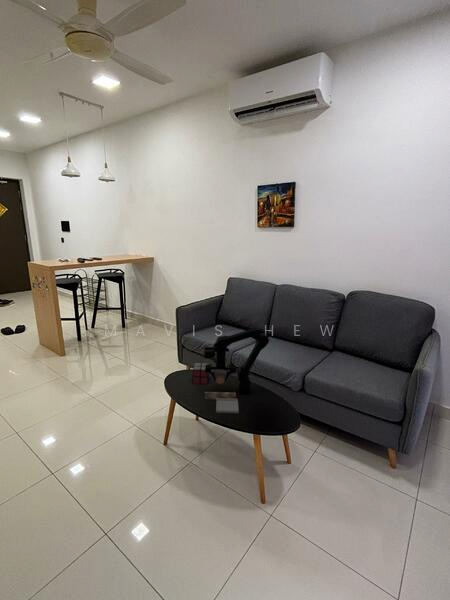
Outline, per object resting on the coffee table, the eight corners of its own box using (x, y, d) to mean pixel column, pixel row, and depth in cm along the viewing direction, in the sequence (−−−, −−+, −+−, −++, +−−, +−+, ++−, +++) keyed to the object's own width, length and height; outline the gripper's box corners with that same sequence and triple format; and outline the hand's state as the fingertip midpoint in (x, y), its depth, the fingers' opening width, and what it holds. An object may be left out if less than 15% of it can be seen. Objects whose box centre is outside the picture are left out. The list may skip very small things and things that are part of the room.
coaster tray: (237, 401, 174) (237, 398, 174) (238, 413, 162) (238, 410, 162) (216, 400, 174) (216, 398, 173) (216, 412, 162) (216, 410, 162)
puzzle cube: (207, 384, 193) (208, 370, 190) (192, 383, 193) (192, 369, 191) (209, 377, 202) (209, 363, 200) (194, 376, 202) (194, 362, 200)
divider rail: (235, 398, 176) (235, 392, 176) (235, 399, 175) (235, 393, 174) (205, 398, 176) (205, 391, 175) (204, 399, 175) (204, 393, 174)
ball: (225, 381, 185) (225, 372, 184) (225, 386, 179) (225, 376, 178) (215, 381, 185) (215, 372, 184) (215, 385, 179) (215, 376, 178)
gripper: (235, 352, 187) (235, 375, 190) (206, 352, 186) (205, 375, 190) (236, 360, 176) (235, 384, 179) (205, 359, 175) (204, 383, 179)
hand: (220, 381), depth 182 cm, fingers closed on ball, 6 cm apart
